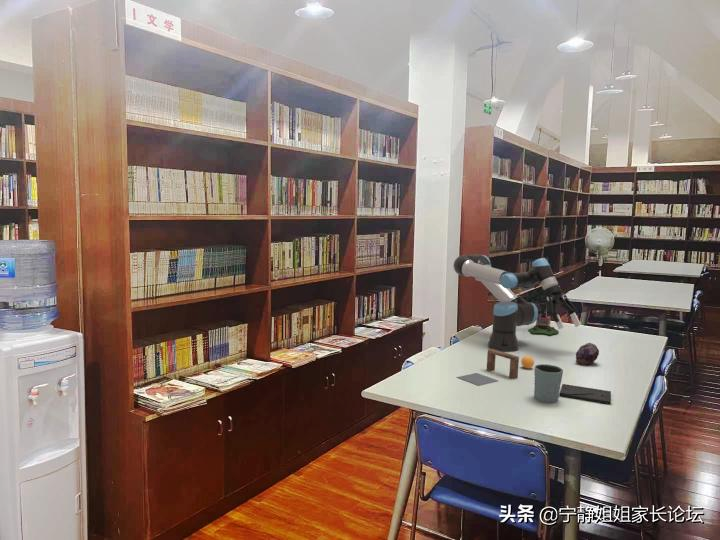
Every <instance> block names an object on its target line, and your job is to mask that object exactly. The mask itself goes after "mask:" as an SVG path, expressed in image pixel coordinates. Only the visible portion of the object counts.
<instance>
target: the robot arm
mask: <svg viewBox="0 0 720 540" xmlns="http://www.w3.org/2000/svg"><path fill="white" fill-rule="evenodd" d="M531 265H532V268H530V270H528V271H527V272H526V271H525V272H510V271H506V270H502V269H499V268H496V267H492V263H491V260H490V258H489V257H488V256H487V255H484V254H478V253H477V254H461V255H459V256H458V257H456V258H455V260H454V262H453V270H454V272H455V273H456V274H458V275H459V276H463V277H466V278H468V277H469V278H470V277H472V278H473V279H474V280H475V281H477V282H480V283H482V285H483V286H485V288H486V289H487V290H488V291H489V292H490V293H491V294H492V295H493V296H494V297H495V299H497V300H498V301H499V302H497V303H495V304H494V306H493V310H492V311H493V312H492V313H493V314H492V330H491V335H490V337H489V341H488V342H487V343H488V344H487V347H488V348H489V349H495V350H498V351H502V352H517V351H518V350H519V342H518V337H517V333H516V332H517V327H522V326H530V325H532V324H535V323H536V320H537V317H538V315H539V312H538V309H537V307H536V305H535V304H533V302H529V301H528V302H527V301H525V300H524V299H523V298H522V297H523V296H520V295H519V296H517V295H516V294H515V293H514V292H513V291H512V290H513V289H518V288H519V289H521V290H522V291H526V290H530V289H531V288H533V287H535V286H536V285H537V283H538V282H540V283H539V284H540V286H541V287H542V289H543V291H544V294H545V296H546V297H547V298H546V301H545V302H546V303H547V304H546V305H547V306H546V308H547V314H548V316H549V317H550V318H551V317H552V319H553V320H554V323H555V324H556V326H557V328H558V329H557V330H562V329H563V328H565V325H564V323H563V322H562V321H563V320H562V319H561V317H560V315H559V314H558V306H560V307H562V308H563V309H565V310H566V311H567V312H568V313H569V315H570V318H571V321H572V323H573V325H574V327H575V328H578V327H579V326H581V325H582V324H581V322H580V320H579V318H578V316H577V314H576V313H577V312H578V309H577V308H576V307H575V306H574V304H573V302H571V301H570V299H569V298H568V296H567V295H566V294H564V295H562V289H561V286H560V284H559V282H558V280H557V278H556V277H555V274H554V273H553V272H554V271H553V270H552V268H551V264H550V263H549V262H548V260H547V258H545V257H541V258H538V259H535V260H534V261H533V262H532V263H531ZM535 284H536V285H535ZM534 285H535V286H534Z"/></svg>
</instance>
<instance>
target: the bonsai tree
mask: <svg viewBox="0 0 720 540" xmlns="http://www.w3.org/2000/svg"><path fill="white" fill-rule="evenodd" d="M540 286H541V283H540V282H538V283H537V284H535V285H534V286H533V287H534V289H536V290H532V289H531V288H529V290H531V291H532V294H531V293H528V294H527V296H521V297H522V298H523V299H524V300H525V301H526V302H531V303H533V304H535V305H536V307H537V309H538V317H537V320H536V321H535V325H534V326H533V327H532V328H529V329H528V330H527V331H529V332H530V334H531V335H534V334H537V335H538V334H544V335H546V336H553V335H554V334H555V335H557V334H559V329H556V328H555V327H554V326H553V327H552V326H551V320H552V319H553V317H550V316H549V317H545V316H547V314H546V313H545V311H544V310H543V309H542V306H541V305H547V301H546V298H547V296H546V294H545V293H544V294H543V295H540V297H539V294H538V292H537V290H538V289H539V287H540ZM536 300H538V301H536ZM535 301H536V302H535ZM544 301H545V302H544ZM539 302H541V303H539Z"/></svg>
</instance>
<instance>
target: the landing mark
mask: <svg viewBox="0 0 720 540" xmlns="http://www.w3.org/2000/svg"><path fill="white" fill-rule="evenodd" d="M456 378H457V379H460V380H462V381H465V382H468V383H470V384H473V385H475V386H479V387H480V386H482V385H488V384H491V383H497V382H498V381H499V380H498V379H495V378H493V377H490V376H486V375H484V374H481V373H478V372H475V373H470V374H466V375H459V376H456Z"/></svg>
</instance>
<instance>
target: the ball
mask: <svg viewBox="0 0 720 540" xmlns="http://www.w3.org/2000/svg"><path fill="white" fill-rule="evenodd" d="M520 362H521V365H522V367H523V368H525V369H531V368H533V367H534V366H535V359H534V358H532V356H529V355H526V356H523V357H522V358H521V360H520Z"/></svg>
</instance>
